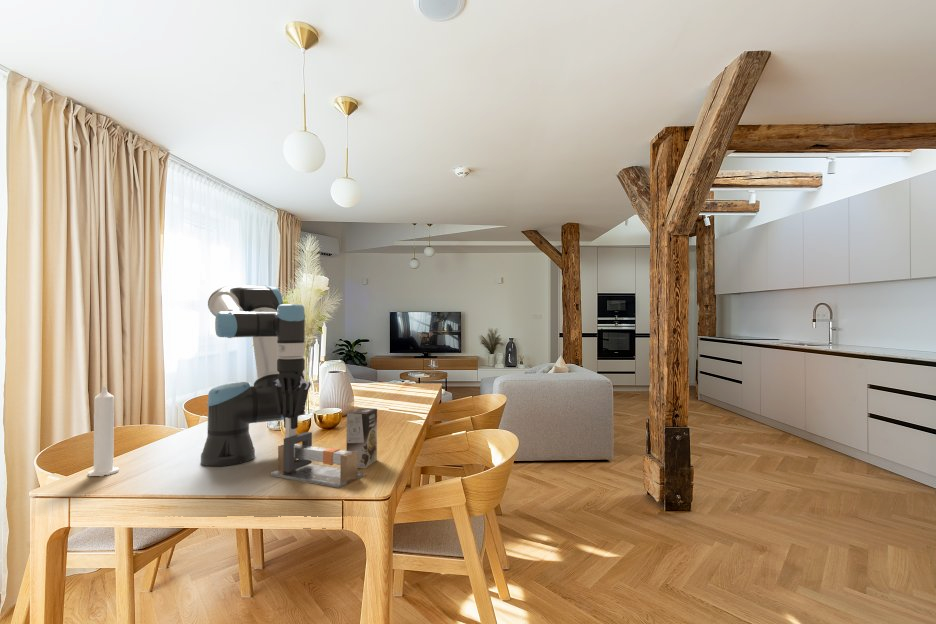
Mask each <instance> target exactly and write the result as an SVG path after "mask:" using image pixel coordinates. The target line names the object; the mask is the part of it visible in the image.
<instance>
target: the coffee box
mask: <svg viewBox="0 0 936 624" xmlns="http://www.w3.org/2000/svg"><path fill="white" fill-rule="evenodd" d="M345 449H346V450H345V451H358V469H367V468H368V467H369V466H370V465H372V464H373V463H375V462H376V461H378V460H377V459H378V408H372V407H367V408H357V409H354V410H352V411H349V412H346V448H345Z"/></svg>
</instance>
